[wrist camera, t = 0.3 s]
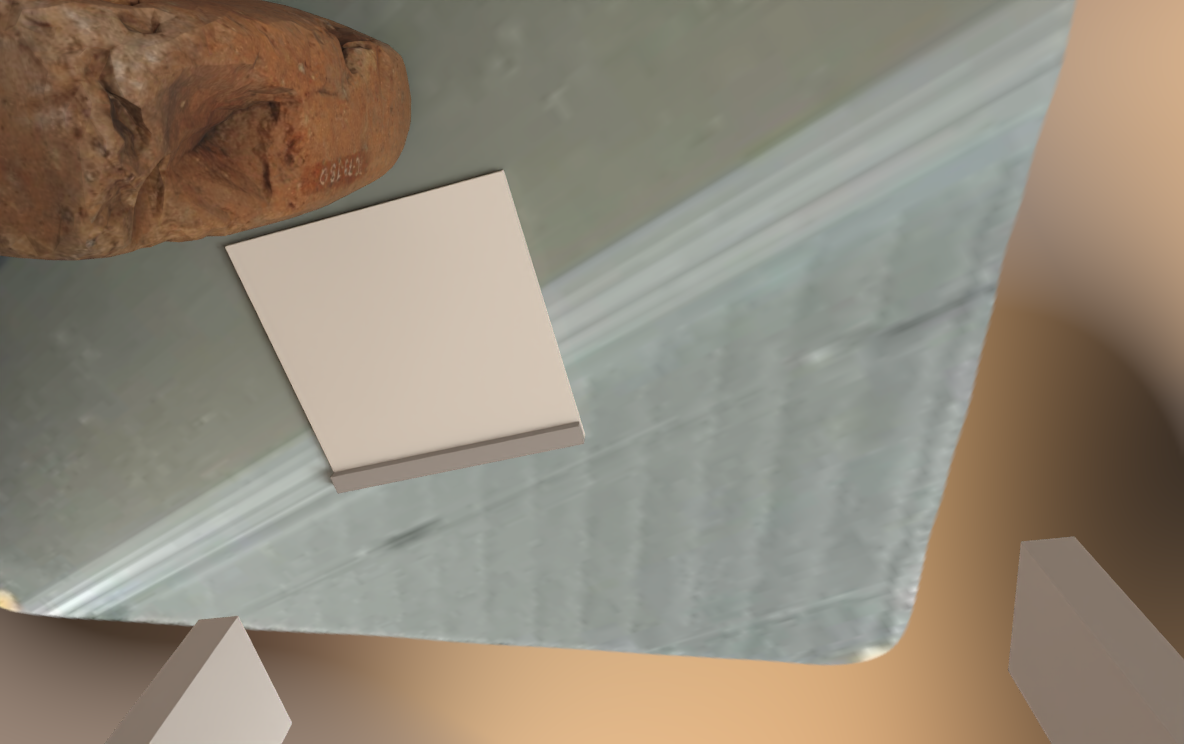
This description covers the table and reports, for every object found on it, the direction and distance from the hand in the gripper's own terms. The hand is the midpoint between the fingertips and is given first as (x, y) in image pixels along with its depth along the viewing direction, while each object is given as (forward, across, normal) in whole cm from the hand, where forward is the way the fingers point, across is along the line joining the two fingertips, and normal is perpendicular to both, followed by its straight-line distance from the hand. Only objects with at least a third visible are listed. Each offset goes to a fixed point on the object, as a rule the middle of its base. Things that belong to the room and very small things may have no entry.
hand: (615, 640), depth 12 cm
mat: (+28, -13, -4) cm, 31 cm away
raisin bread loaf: (+28, -14, +10) cm, 33 cm away
